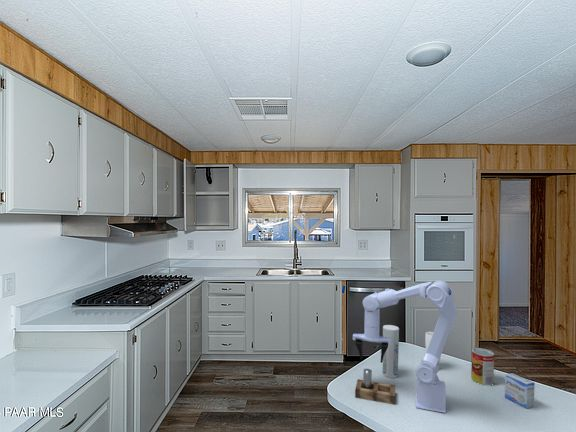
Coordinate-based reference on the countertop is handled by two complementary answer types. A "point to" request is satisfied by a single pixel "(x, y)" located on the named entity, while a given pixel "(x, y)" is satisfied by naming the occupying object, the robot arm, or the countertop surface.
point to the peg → (367, 378)
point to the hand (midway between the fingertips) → (371, 360)
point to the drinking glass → (428, 340)
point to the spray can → (391, 351)
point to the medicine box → (519, 390)
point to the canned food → (482, 366)
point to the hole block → (376, 392)
